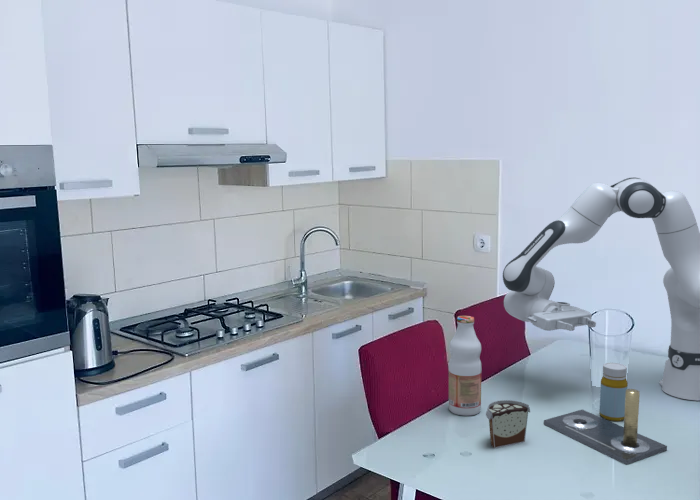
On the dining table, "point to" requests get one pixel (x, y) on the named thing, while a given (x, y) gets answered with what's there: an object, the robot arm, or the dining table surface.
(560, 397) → the dining table surface
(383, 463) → the dining table surface
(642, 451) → the gauge plate
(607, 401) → the bottle
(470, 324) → the fruit juice
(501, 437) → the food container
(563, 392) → the dining table surface
